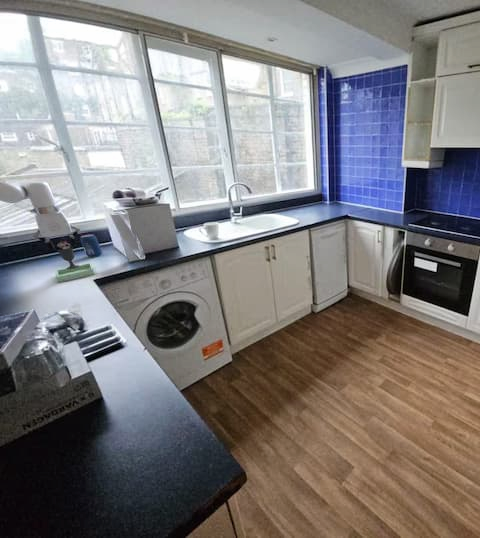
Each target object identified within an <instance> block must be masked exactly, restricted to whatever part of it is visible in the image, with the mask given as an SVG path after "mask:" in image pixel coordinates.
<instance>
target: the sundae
mask: <svg viewBox="0 0 480 538" xmlns="http://www.w3.org/2000/svg"><path fill="white" fill-rule="evenodd" d="M61 238H62V239H61V240H60V241H59V242H58V243H57V245H54V248H55V250H54V251H56V252H57V253H58V254H59V256H60V257H61V258H62V259H63V260H64V261H65V262H68V264H69V266H67V267H66V269H75V268H78V267H79V265H80V264H74V262H73V261H74V259H75V254H74V249H73V248H74V247H73V245H72V244H70V243H68V241H67V240H65V236H62V237H61ZM63 240H64V241H63Z"/></svg>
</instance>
